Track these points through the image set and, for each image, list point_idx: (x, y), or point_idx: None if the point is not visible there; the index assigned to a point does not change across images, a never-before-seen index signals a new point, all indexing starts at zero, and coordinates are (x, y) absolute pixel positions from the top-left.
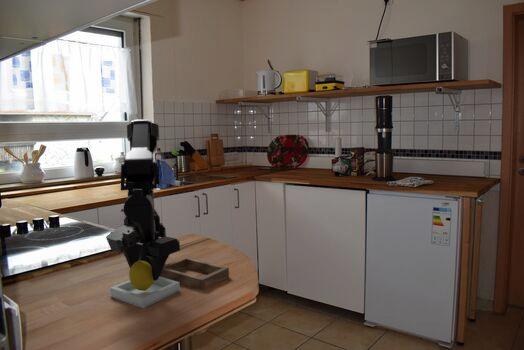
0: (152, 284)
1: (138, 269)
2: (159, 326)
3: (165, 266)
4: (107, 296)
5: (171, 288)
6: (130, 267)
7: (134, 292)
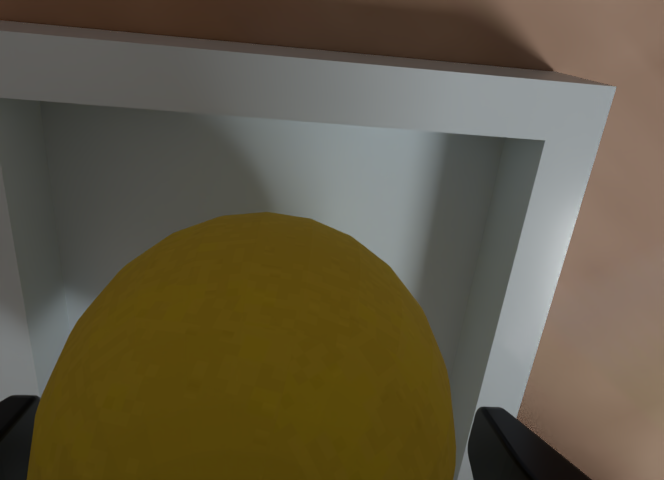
0: None
1: (105, 409)
2: None
3: None
4: (596, 60)
5: None
6: (554, 469)
7: (361, 240)
